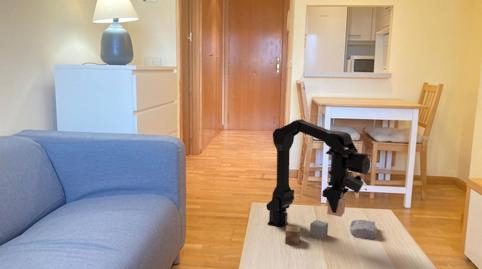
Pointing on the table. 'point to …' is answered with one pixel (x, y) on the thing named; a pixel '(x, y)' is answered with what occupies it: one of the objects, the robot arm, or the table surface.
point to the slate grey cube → (319, 229)
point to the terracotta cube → (339, 210)
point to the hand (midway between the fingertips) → (335, 210)
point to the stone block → (363, 229)
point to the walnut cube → (292, 235)
